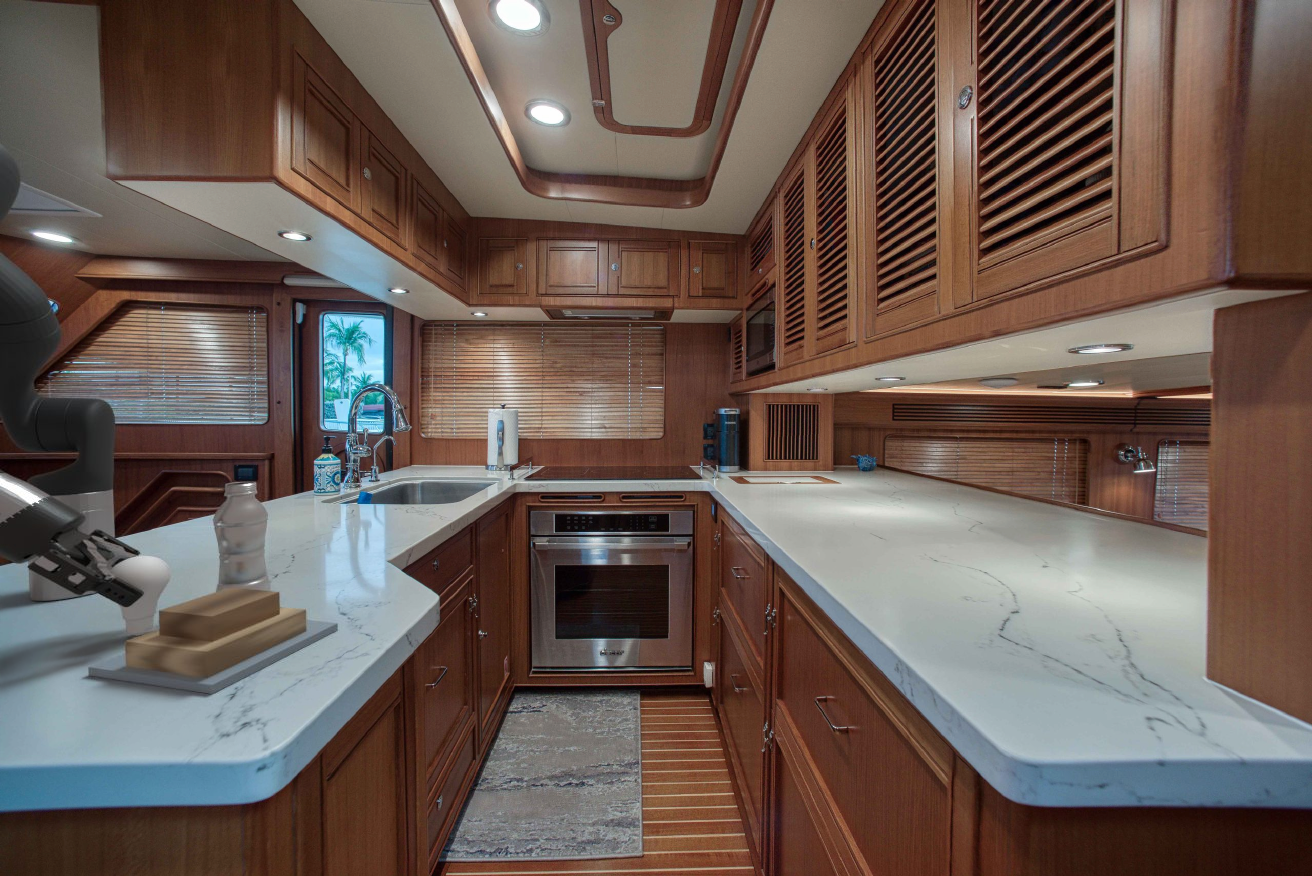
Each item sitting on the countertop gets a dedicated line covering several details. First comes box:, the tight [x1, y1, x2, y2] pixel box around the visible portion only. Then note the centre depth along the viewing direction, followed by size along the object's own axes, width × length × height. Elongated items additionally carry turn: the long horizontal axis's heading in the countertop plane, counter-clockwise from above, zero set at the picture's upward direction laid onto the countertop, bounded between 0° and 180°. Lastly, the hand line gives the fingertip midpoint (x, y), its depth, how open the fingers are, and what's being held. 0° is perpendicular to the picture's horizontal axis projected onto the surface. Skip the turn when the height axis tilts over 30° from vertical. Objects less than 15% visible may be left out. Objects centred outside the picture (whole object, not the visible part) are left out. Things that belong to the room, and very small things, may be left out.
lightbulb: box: [110, 555, 172, 637], centre depth 64 cm, size 6×6×11 cm
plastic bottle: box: [212, 481, 272, 592], centre depth 73 cm, size 6×7×20 cm
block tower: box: [124, 587, 307, 678], centre depth 59 cm, size 12×12×6 cm
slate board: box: [87, 619, 339, 695], centre depth 61 cm, size 18×16×1 cm
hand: (148, 590), depth 65 cm, fingers open, 8 cm apart
